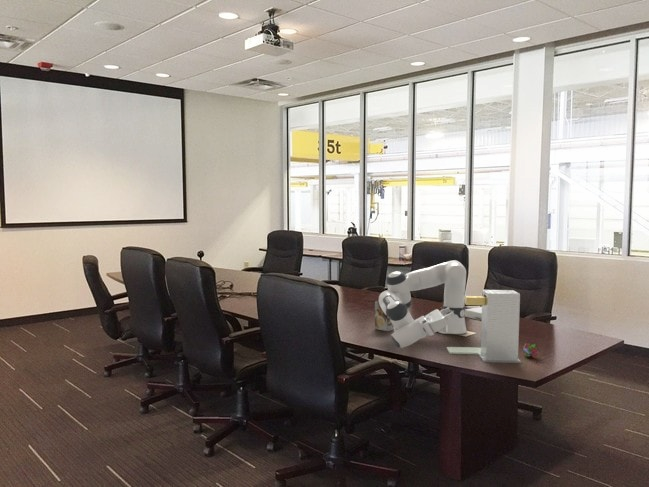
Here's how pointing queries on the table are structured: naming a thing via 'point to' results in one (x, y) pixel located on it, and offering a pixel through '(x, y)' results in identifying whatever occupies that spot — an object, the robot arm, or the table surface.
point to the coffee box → (382, 319)
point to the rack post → (500, 326)
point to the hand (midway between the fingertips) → (451, 311)
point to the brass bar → (475, 300)
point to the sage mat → (463, 350)
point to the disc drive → (474, 313)
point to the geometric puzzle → (530, 350)
